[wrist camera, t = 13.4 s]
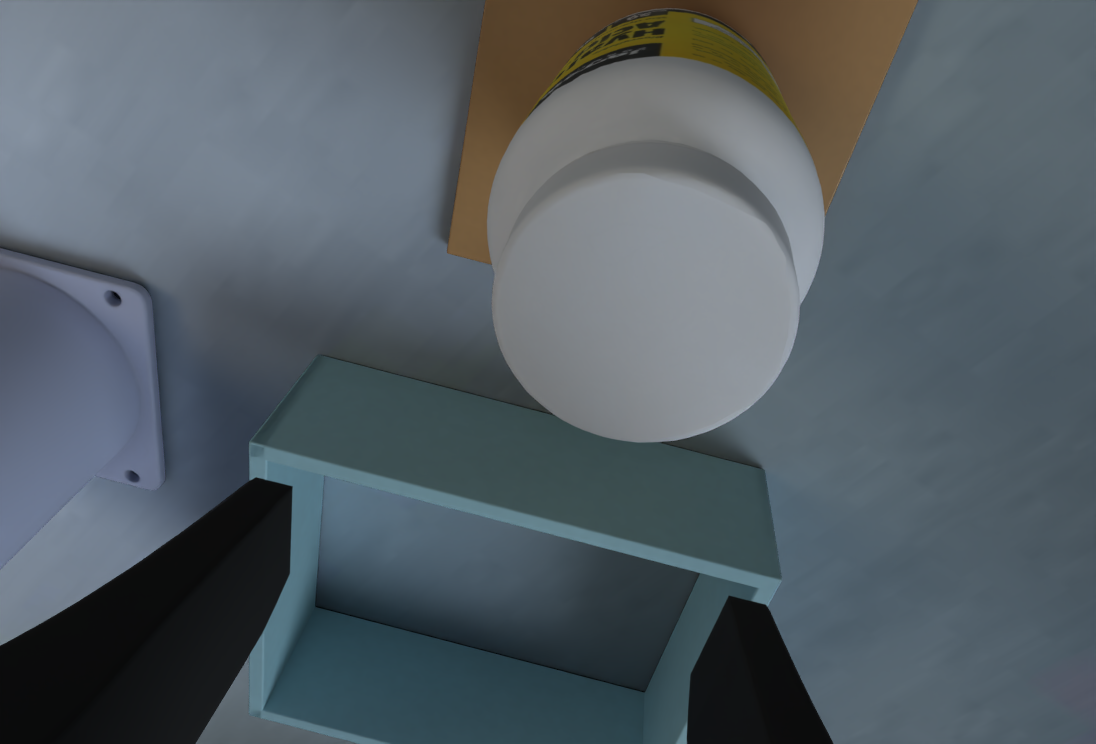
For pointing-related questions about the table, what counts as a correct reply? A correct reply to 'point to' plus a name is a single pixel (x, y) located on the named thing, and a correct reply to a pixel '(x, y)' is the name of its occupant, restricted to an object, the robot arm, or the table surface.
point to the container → (508, 496)
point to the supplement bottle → (654, 231)
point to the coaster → (742, 3)
